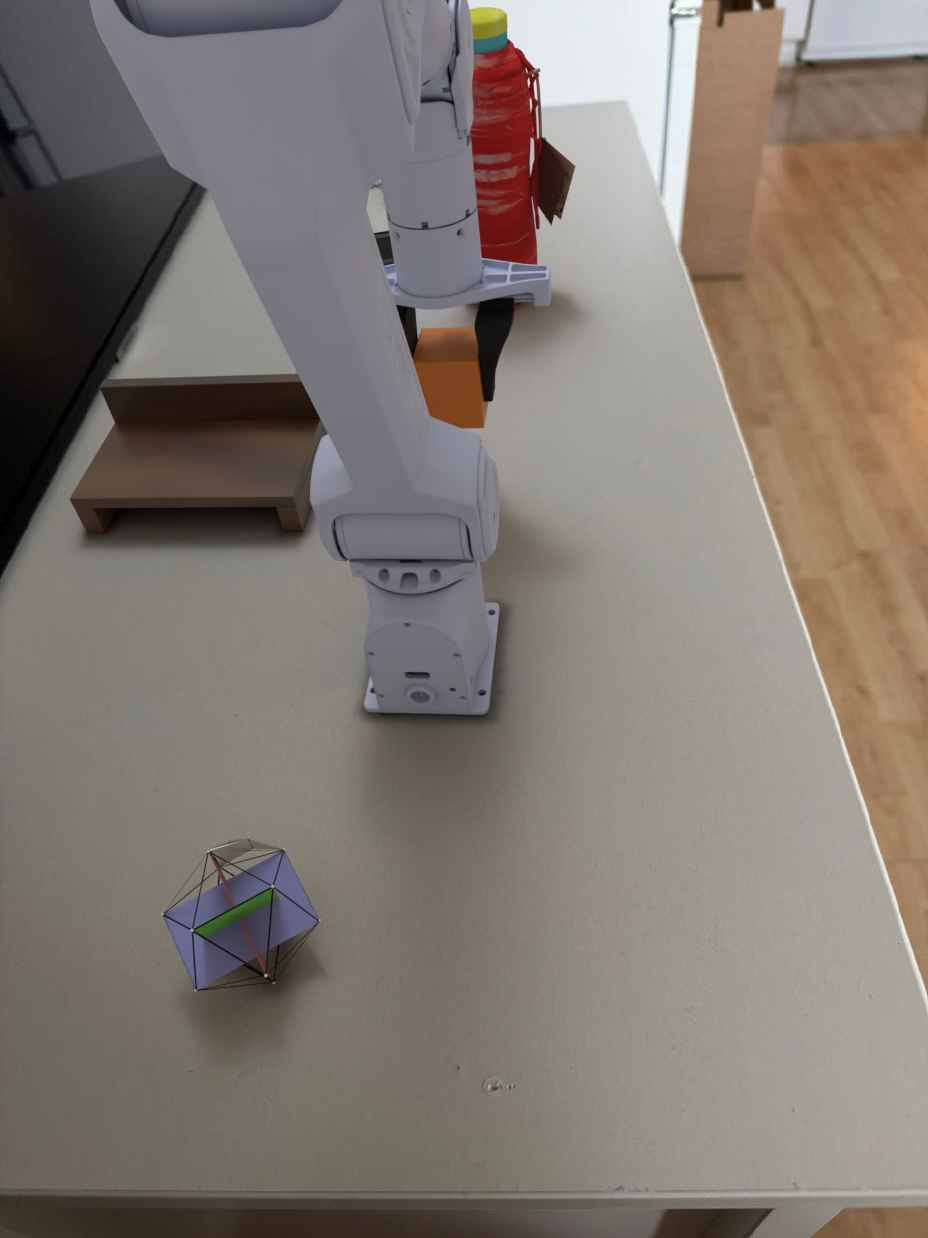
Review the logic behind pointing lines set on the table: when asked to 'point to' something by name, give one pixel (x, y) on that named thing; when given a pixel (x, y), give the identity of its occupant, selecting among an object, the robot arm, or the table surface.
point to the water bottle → (510, 146)
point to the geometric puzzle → (240, 915)
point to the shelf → (204, 447)
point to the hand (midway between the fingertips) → (454, 394)
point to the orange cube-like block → (451, 375)
